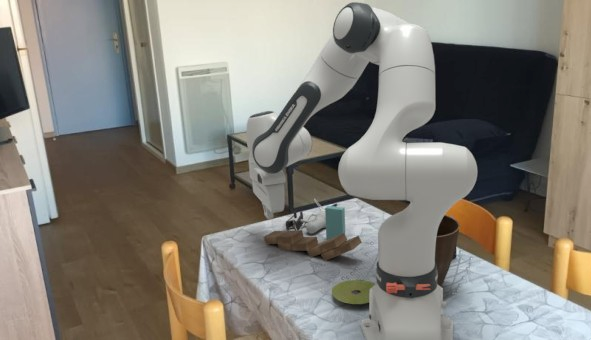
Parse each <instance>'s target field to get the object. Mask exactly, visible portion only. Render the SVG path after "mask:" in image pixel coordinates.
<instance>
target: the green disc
mask: <svg viewBox="0 0 591 340" xmlns="http://www.w3.org/2000/svg"><path fill="white" fill-rule="evenodd" d="M375 284H376V283H374V282H372V281H368V280H361V279H349V280H345V281H342V282H339V283H337V284H335V285H333V287H332V289H331V295H332V296H333V297H334V299H335V300H336V301H339V302H342V303H346V304H349V305H350V304H352V305H364V304H368V303H369V293H370V289H371V288H372V287H373V286H374V285H375Z"/></svg>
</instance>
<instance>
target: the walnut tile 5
mask: <svg viewBox="0 0 591 340" xmlns="http://www.w3.org/2000/svg"><path fill="white" fill-rule="evenodd" d="M362 243H363V241H362V239H361V238H360V236H359V235H357V236H355V237H352V238H350V239H347V240H346V241H345V242H344V243H342V244H341V245H340V246H338V247H336V248H333V249H331V250H329V251H326V252H324V253H321V254H320V256H321V258H322V259H323V261H328V260H331V259H333V258H336V257H338V256H340V255H341V256H342V255H343V254H345V253H348V252H350V251H353V250H354V249H356V248H357V247H359V245H361V244H362Z"/></svg>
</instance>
